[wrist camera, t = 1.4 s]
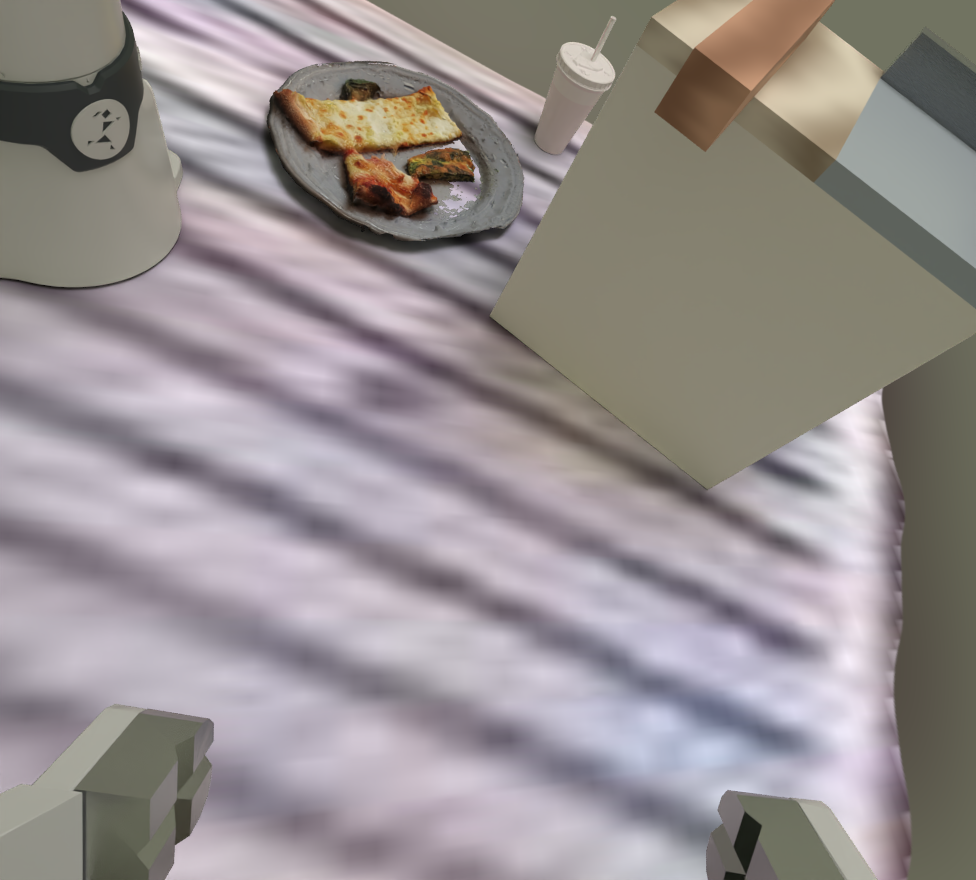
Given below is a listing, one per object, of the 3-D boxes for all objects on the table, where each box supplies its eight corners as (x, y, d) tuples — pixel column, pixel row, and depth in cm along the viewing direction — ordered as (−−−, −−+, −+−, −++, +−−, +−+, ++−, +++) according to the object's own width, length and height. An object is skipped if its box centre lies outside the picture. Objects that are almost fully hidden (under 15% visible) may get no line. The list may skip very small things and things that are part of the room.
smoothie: (583, 159, 70) (650, 39, 58) (544, 166, 66) (606, 41, 55) (553, 121, 71) (612, -4, 59) (513, 126, 68) (567, -4, 56)
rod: (654, 112, 27) (694, 47, 25) (769, 9, 38) (805, -43, 36) (705, 152, 27) (751, 91, 25) (806, 37, 38) (845, -13, 36)
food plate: (329, 270, 50) (335, 239, 47) (227, 83, 56) (227, 45, 53) (552, 234, 62) (567, 207, 60) (449, 85, 69) (458, 55, 66)
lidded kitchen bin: (489, 316, 53) (685, -47, 29) (570, 236, 62) (771, -92, 38) (707, 489, 53) (1090, 266, 29) (757, 384, 62) (1082, 146, 38)
